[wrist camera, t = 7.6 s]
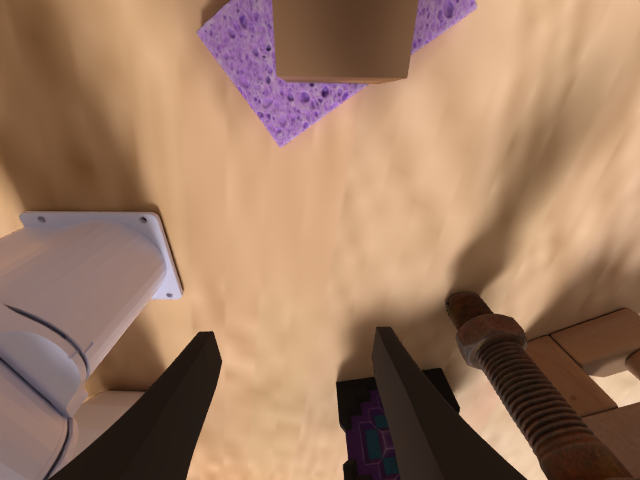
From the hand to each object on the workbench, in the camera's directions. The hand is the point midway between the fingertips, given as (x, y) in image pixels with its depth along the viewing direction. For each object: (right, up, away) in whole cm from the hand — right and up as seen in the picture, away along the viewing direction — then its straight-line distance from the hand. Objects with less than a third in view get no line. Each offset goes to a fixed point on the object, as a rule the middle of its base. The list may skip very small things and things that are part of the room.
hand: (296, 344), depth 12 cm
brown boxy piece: (+2, +16, +1) cm, 16 cm away
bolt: (+14, -1, +13) cm, 19 cm away
